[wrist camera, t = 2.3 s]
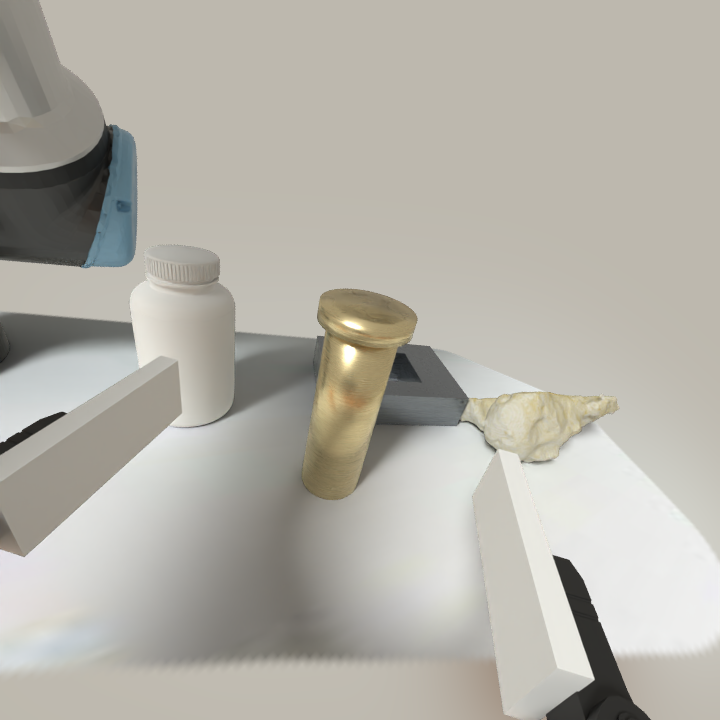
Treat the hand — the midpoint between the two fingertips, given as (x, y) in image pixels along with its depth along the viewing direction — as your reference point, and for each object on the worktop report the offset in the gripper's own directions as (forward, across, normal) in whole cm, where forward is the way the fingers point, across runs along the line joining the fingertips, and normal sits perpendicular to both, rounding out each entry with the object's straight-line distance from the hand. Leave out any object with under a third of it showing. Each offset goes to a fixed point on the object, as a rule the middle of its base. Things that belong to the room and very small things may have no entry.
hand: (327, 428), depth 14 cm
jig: (+25, +2, -14) cm, 29 cm away
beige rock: (+24, +20, -14) cm, 34 cm away
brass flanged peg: (+10, 0, -14) cm, 17 cm away
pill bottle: (+14, -16, -14) cm, 26 cm away
